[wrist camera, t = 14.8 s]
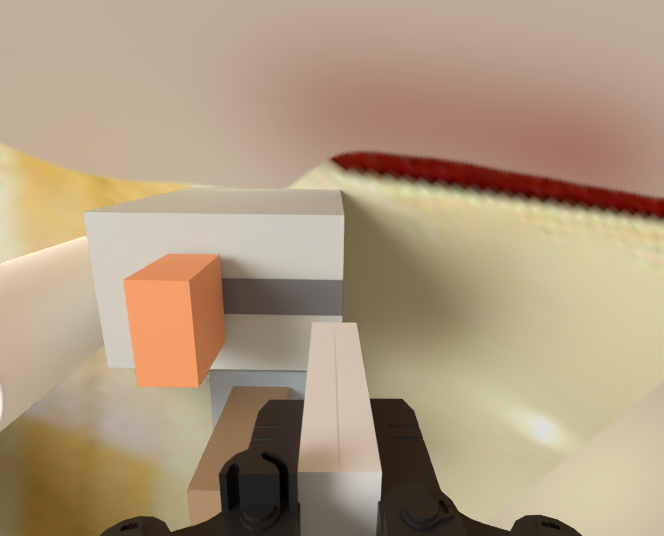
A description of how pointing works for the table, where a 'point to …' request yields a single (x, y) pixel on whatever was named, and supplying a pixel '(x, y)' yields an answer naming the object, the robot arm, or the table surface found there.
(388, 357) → the table surface
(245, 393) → the carriage
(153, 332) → the block
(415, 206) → the table surface
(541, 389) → the table surface
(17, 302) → the cup
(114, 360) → the cabinet
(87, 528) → the table surface
